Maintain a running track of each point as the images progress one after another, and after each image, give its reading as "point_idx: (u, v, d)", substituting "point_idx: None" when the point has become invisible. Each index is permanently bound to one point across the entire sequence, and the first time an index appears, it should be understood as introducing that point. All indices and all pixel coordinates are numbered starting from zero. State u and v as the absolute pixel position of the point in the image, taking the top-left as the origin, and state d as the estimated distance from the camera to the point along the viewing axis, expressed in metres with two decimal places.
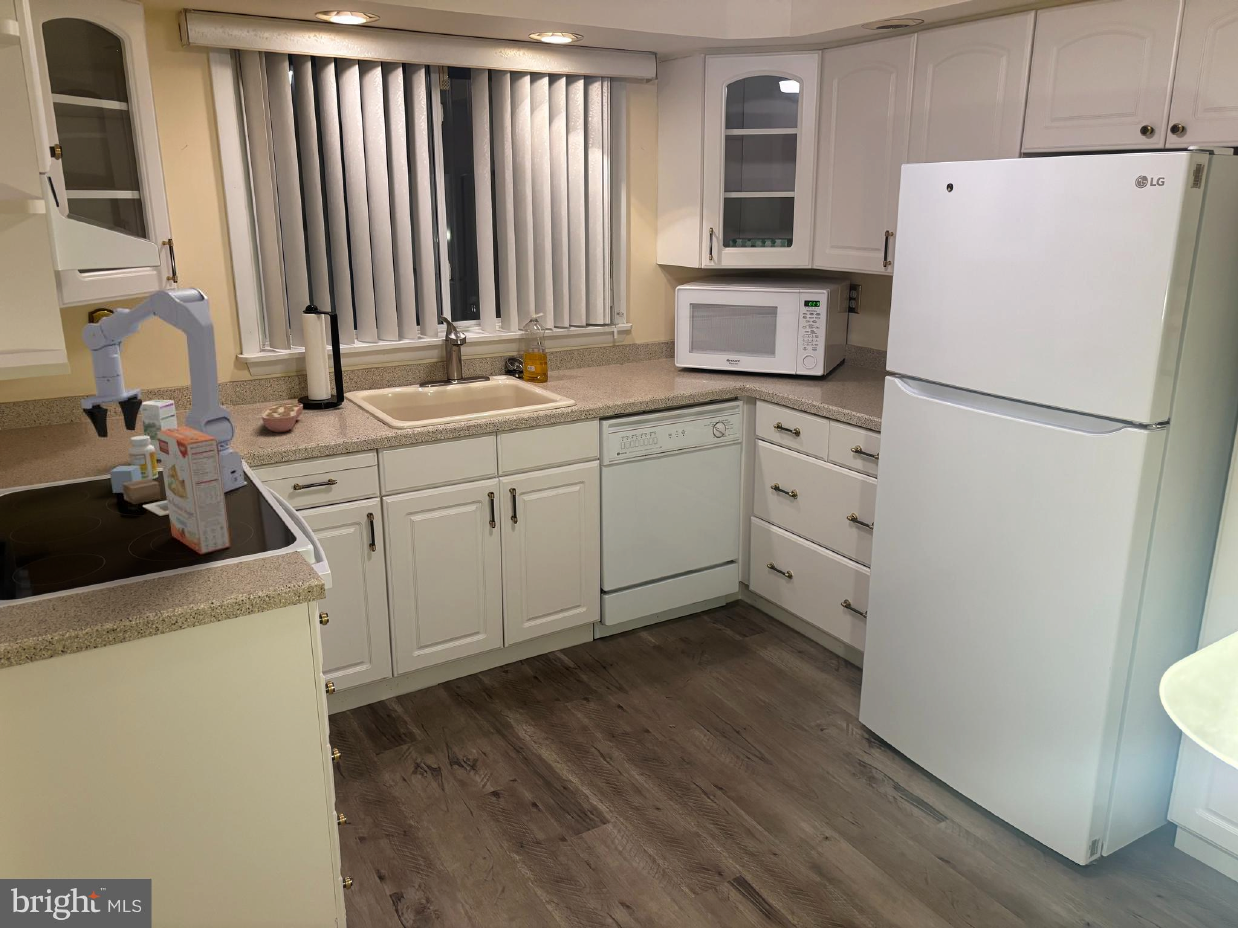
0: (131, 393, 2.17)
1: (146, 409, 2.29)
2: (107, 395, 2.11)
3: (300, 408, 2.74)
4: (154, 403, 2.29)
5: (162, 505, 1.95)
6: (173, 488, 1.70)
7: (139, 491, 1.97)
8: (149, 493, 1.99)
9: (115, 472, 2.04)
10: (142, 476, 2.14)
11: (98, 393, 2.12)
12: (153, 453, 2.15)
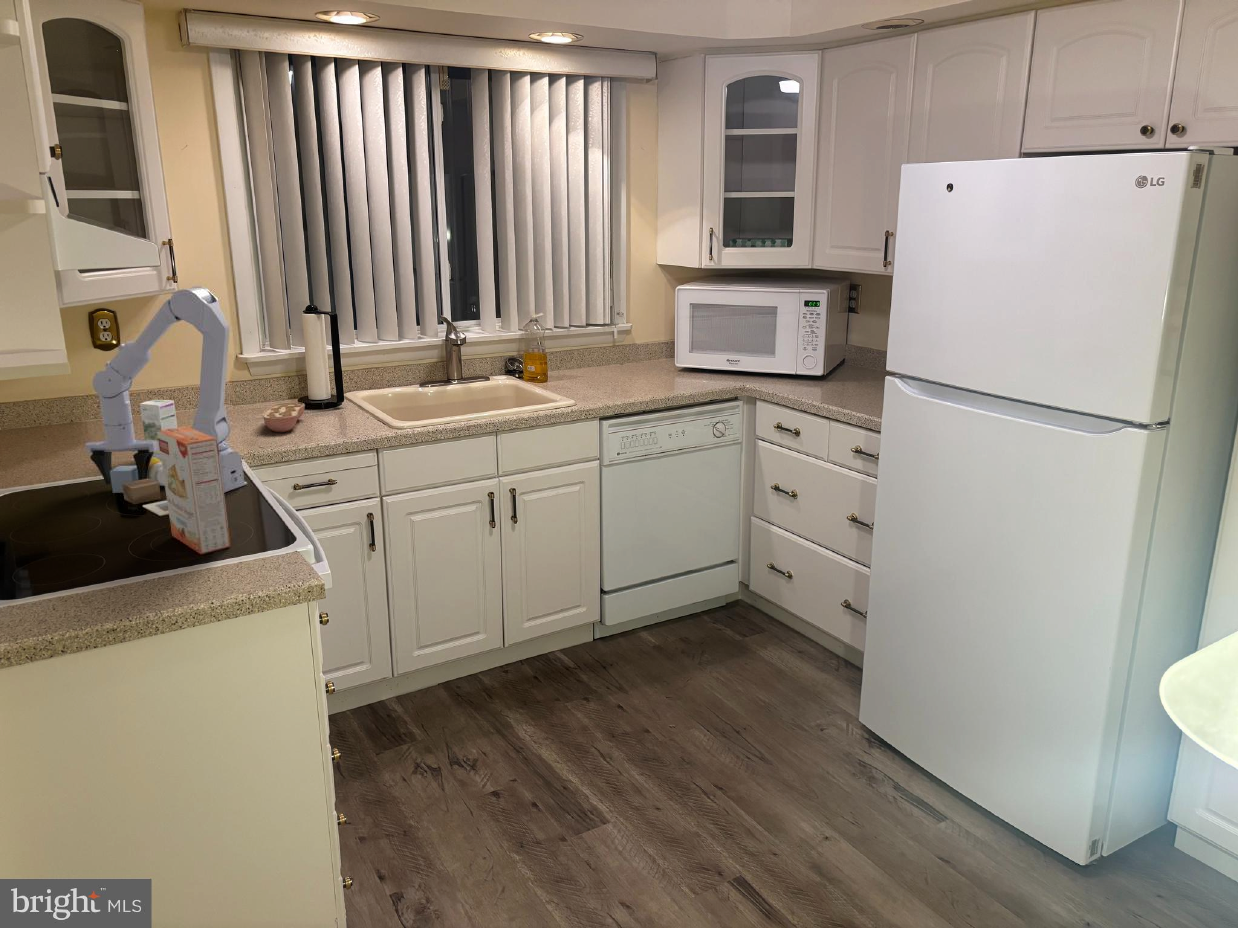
0: (135, 445, 2.03)
1: (146, 408, 2.29)
2: (106, 443, 2.03)
3: (302, 408, 2.74)
4: (154, 403, 2.29)
5: (162, 505, 1.95)
6: (173, 488, 1.70)
7: (139, 491, 1.97)
8: (149, 493, 1.99)
9: (115, 472, 2.04)
10: None
11: None
12: None
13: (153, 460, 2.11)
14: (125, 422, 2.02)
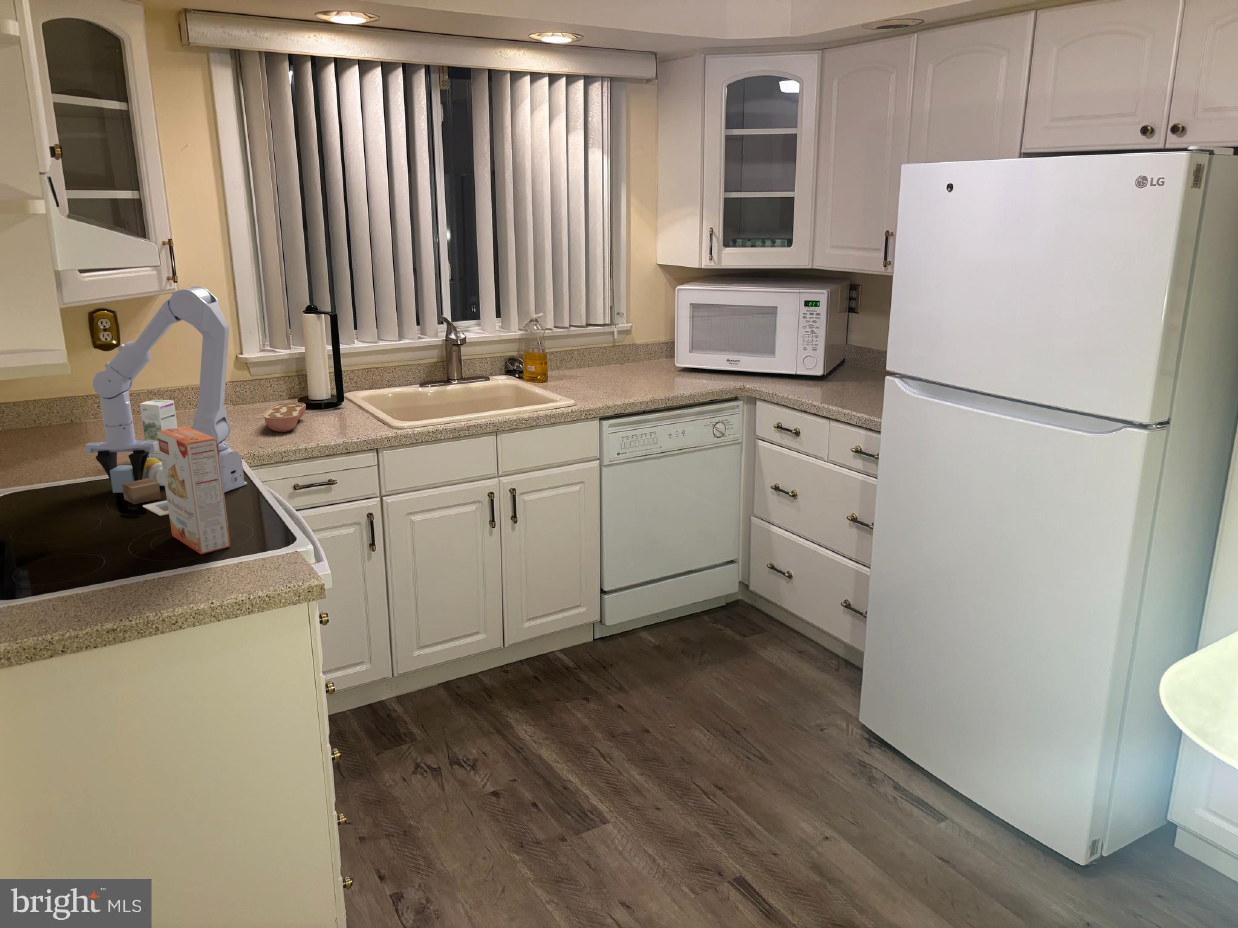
0: (135, 446, 2.03)
1: (146, 409, 2.29)
2: (106, 443, 2.03)
3: (303, 408, 2.74)
4: (154, 403, 2.29)
5: (162, 505, 1.95)
6: (173, 488, 1.70)
7: (139, 491, 1.97)
8: (149, 493, 1.99)
9: (115, 472, 2.04)
10: None
11: None
12: None
13: (151, 461, 2.11)
14: (125, 422, 2.02)
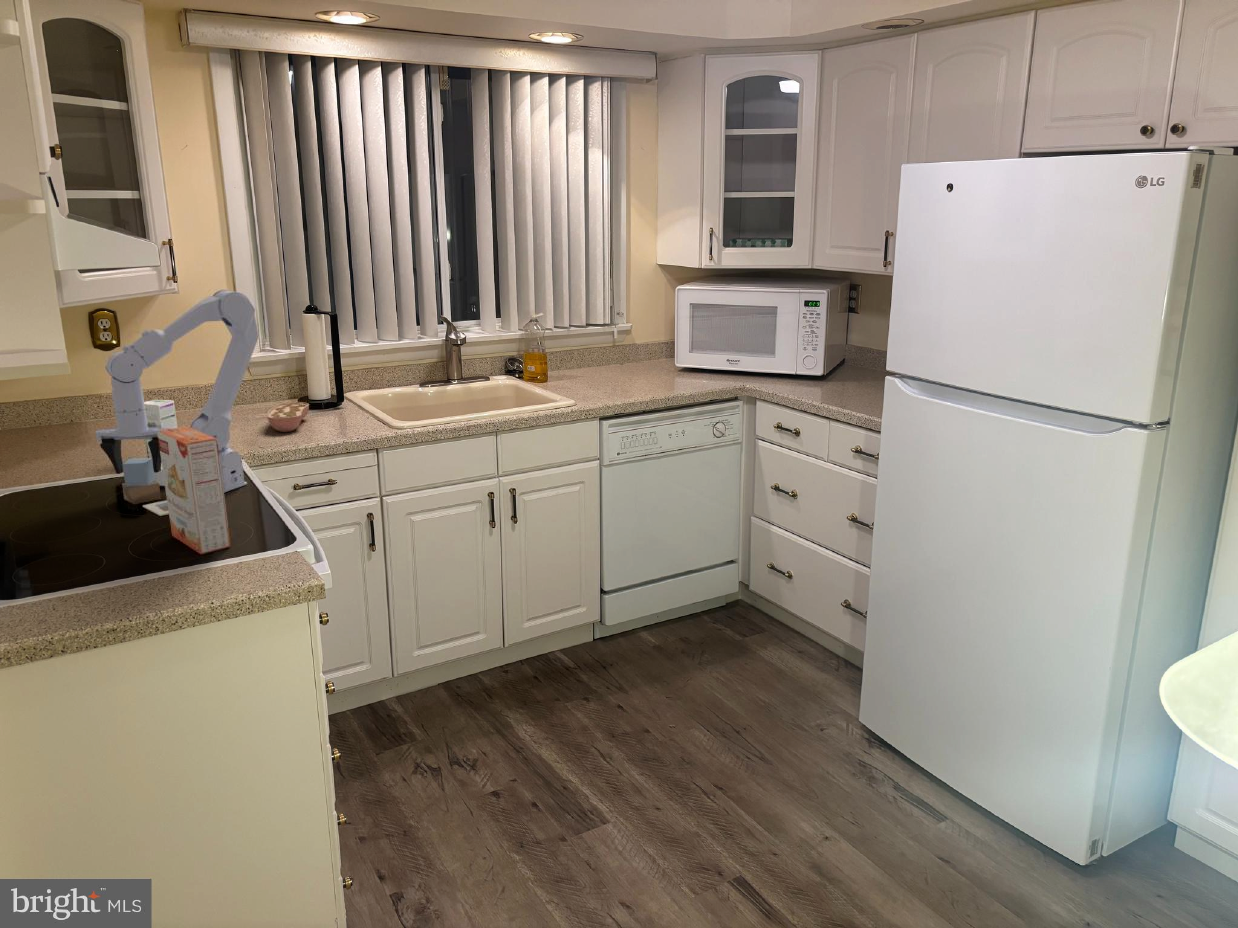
0: (148, 433, 1.95)
1: (146, 408, 2.29)
2: (118, 430, 1.95)
3: (306, 408, 2.74)
4: (154, 403, 2.29)
5: (162, 505, 1.95)
6: (173, 488, 1.70)
7: (139, 491, 1.97)
8: (149, 493, 1.99)
9: (128, 465, 1.96)
10: None
11: None
12: None
13: None
14: (143, 407, 1.95)
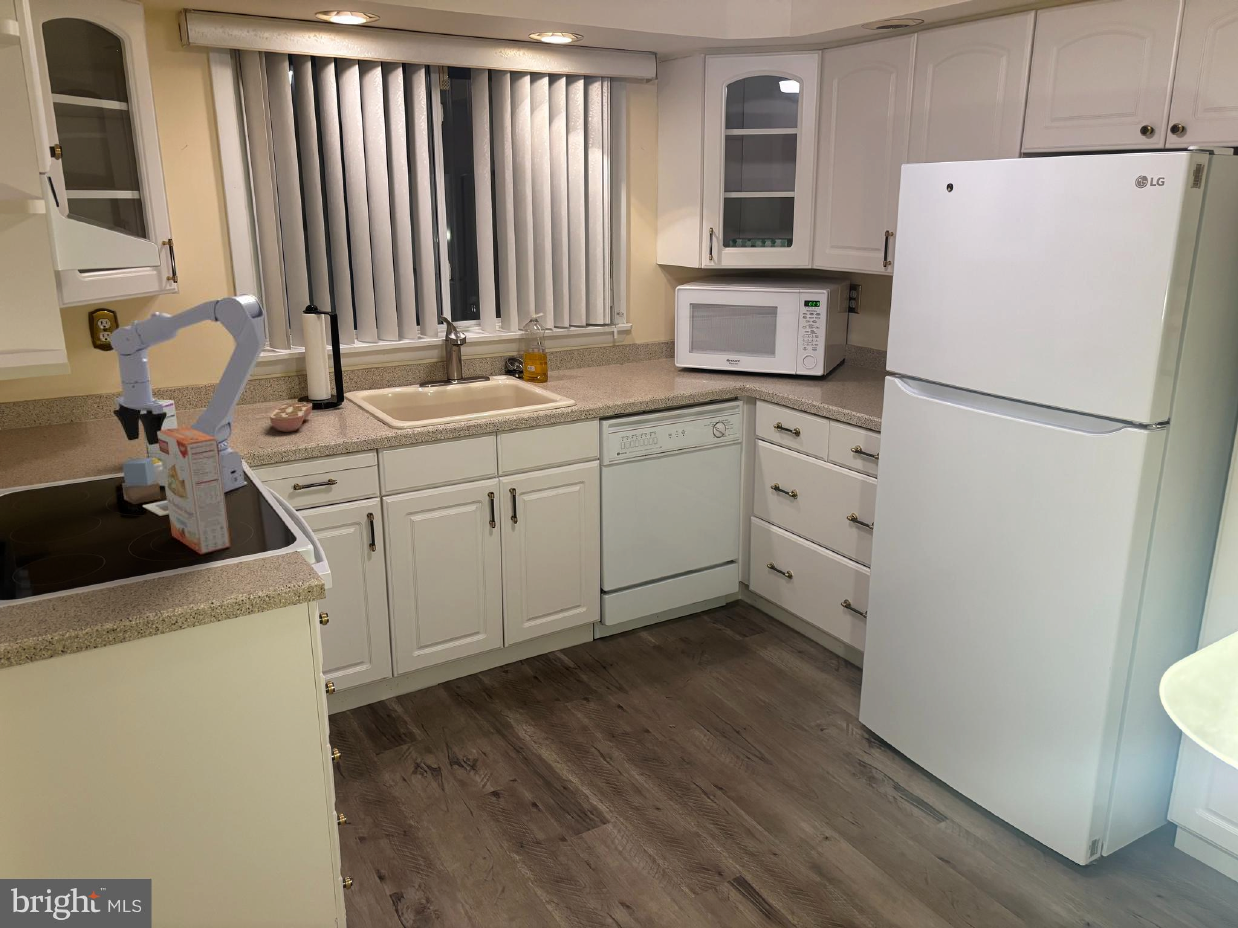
0: (141, 405, 2.01)
1: None
2: None
3: (309, 408, 2.74)
4: None
5: (162, 505, 1.95)
6: (173, 488, 1.70)
7: (139, 491, 1.97)
8: (149, 493, 1.99)
9: (128, 465, 1.96)
10: None
11: None
12: None
13: None
14: (141, 380, 2.02)
